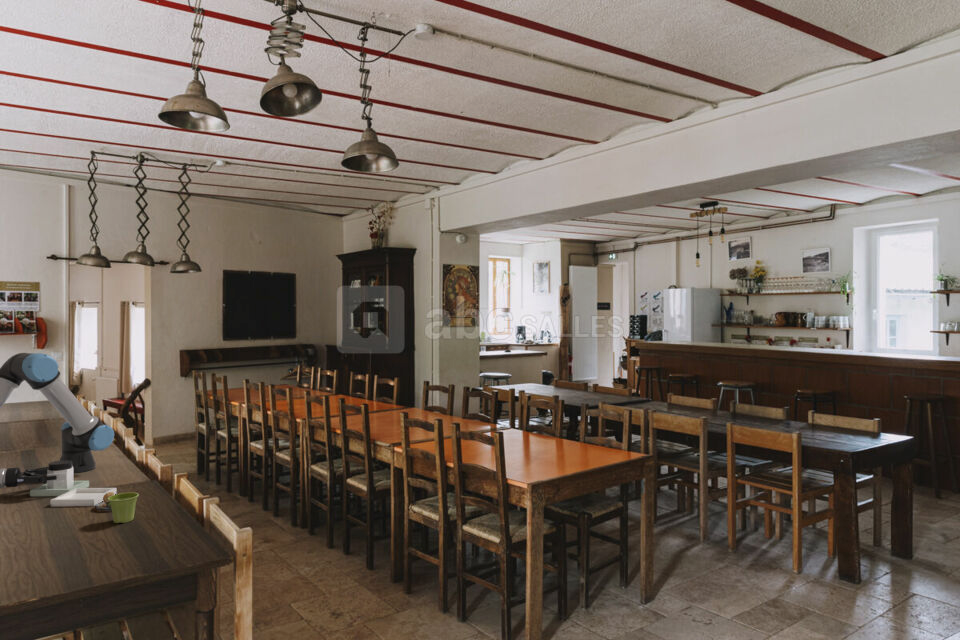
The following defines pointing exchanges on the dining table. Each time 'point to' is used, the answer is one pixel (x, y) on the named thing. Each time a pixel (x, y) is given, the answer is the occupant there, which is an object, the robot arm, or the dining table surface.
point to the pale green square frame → (57, 492)
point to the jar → (61, 467)
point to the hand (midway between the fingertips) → (69, 472)
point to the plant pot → (123, 506)
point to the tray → (82, 497)
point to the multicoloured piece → (104, 504)
